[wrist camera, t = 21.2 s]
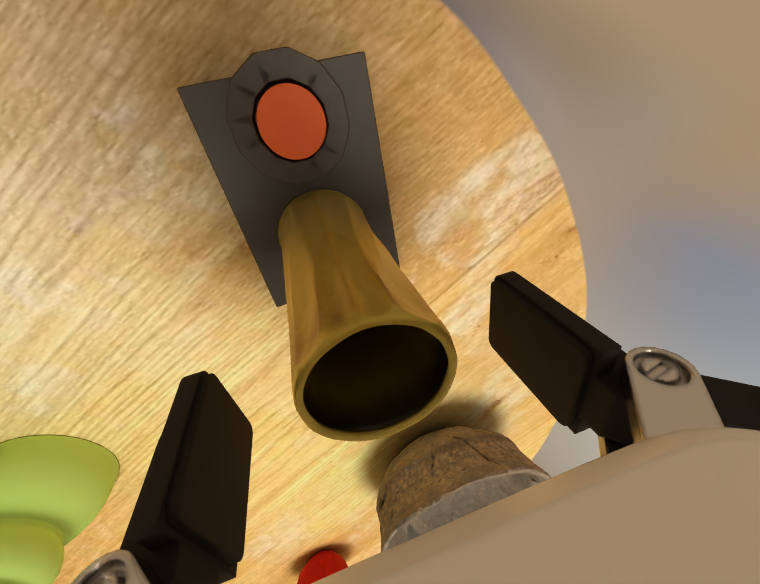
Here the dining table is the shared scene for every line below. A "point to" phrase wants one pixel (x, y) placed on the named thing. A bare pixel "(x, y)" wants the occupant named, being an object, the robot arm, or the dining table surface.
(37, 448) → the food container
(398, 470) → the bowl
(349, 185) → the button base plate
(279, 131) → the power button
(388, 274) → the vase
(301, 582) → the apple
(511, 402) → the dining table surface
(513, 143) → the dining table surface
